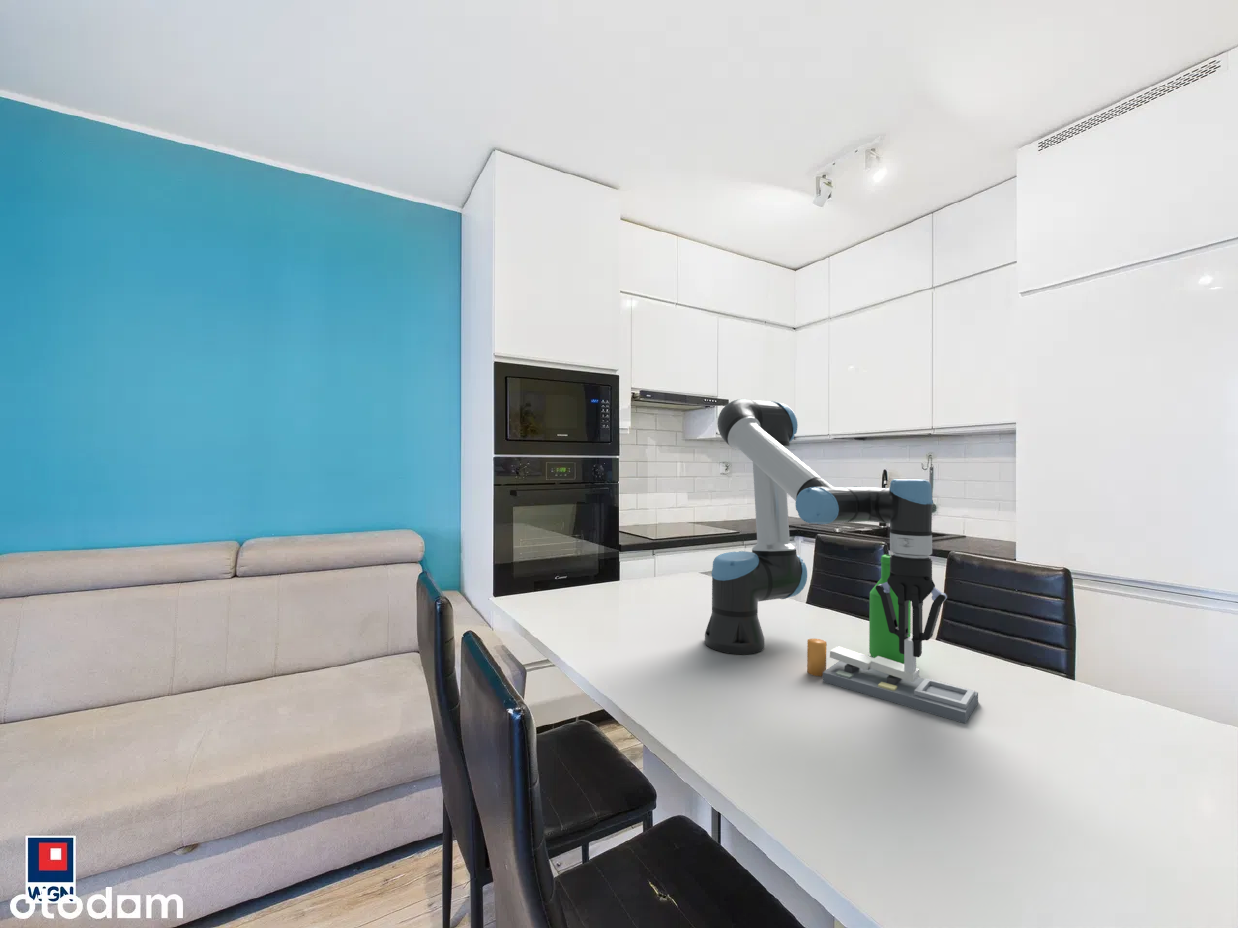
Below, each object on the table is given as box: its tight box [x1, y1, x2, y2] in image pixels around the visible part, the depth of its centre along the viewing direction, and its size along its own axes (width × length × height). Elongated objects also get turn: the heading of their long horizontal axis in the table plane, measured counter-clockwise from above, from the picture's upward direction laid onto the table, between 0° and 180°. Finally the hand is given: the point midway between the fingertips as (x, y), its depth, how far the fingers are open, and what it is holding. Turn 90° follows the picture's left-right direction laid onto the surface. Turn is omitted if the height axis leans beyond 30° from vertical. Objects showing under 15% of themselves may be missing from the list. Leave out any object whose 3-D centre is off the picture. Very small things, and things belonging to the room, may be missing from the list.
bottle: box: [868, 554, 912, 664], centre depth 126 cm, size 9×9×25 cm
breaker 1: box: [829, 645, 874, 671], centre depth 114 cm, size 8×4×2 cm, turn 46°
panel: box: [822, 660, 979, 724], centre depth 108 cm, size 26×12×3 cm, turn 46°
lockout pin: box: [806, 638, 827, 677], centre depth 117 cm, size 4×4×7 cm
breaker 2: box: [870, 656, 920, 682], centre depth 108 cm, size 8×4×2 cm, turn 46°
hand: (910, 670), depth 106 cm, fingers closed
